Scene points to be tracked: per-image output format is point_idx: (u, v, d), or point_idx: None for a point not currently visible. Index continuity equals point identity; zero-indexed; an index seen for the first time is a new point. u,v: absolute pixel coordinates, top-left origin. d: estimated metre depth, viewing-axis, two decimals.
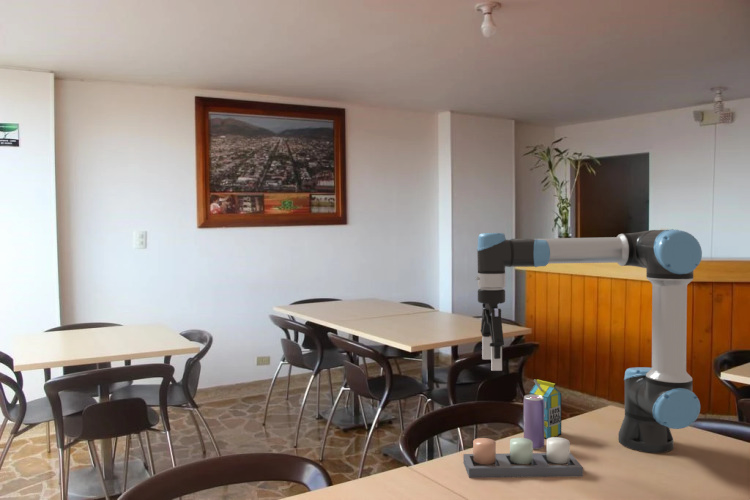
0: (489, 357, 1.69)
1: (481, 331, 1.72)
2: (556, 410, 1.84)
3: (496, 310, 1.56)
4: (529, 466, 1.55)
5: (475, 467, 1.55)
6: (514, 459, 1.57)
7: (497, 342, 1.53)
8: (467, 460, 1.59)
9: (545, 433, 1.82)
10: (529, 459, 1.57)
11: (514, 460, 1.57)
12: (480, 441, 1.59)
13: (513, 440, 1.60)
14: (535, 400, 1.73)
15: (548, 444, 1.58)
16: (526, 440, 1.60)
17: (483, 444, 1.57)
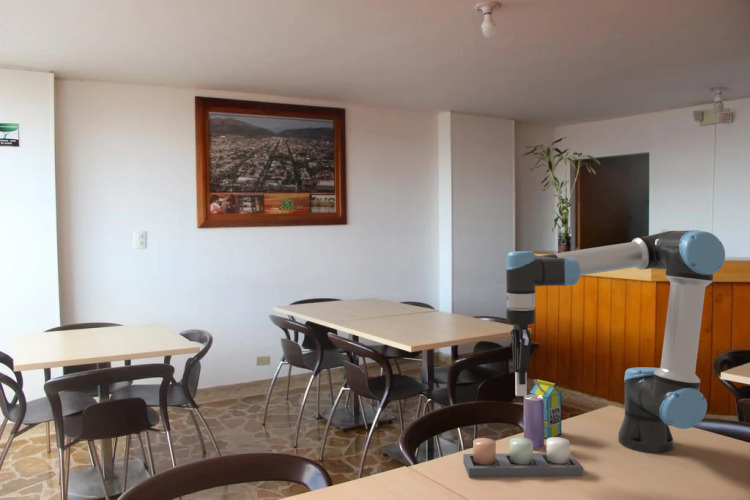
0: None
1: (514, 363, 1.61)
2: (556, 410, 1.84)
3: (526, 341, 1.52)
4: (529, 466, 1.55)
5: (475, 467, 1.55)
6: (514, 459, 1.57)
7: (522, 368, 1.55)
8: (467, 460, 1.59)
9: (545, 433, 1.82)
10: (529, 459, 1.57)
11: (514, 460, 1.57)
12: (480, 441, 1.59)
13: (513, 440, 1.60)
14: (535, 400, 1.73)
15: (548, 444, 1.58)
16: (526, 440, 1.60)
17: (483, 444, 1.57)
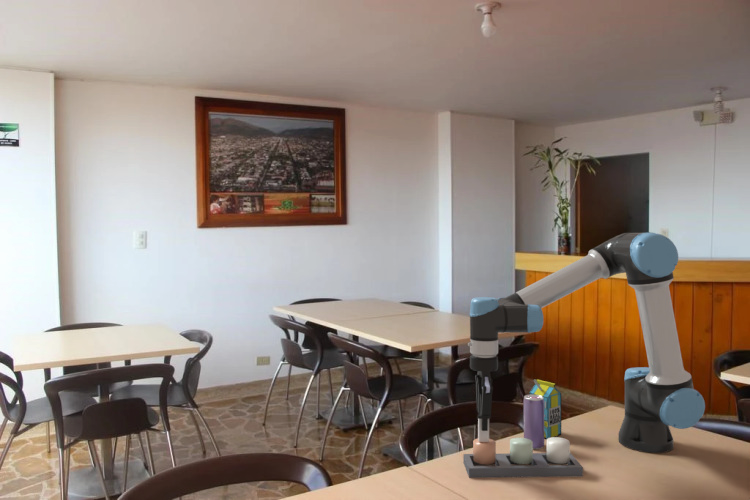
0: None
1: (477, 408, 1.61)
2: (556, 410, 1.84)
3: (488, 389, 1.52)
4: (529, 466, 1.55)
5: (475, 467, 1.55)
6: (514, 459, 1.57)
7: (484, 415, 1.55)
8: (467, 460, 1.59)
9: (545, 433, 1.82)
10: (529, 459, 1.57)
11: (514, 460, 1.57)
12: None
13: (513, 440, 1.60)
14: (535, 400, 1.73)
15: (548, 444, 1.58)
16: (526, 440, 1.60)
17: (483, 444, 1.57)
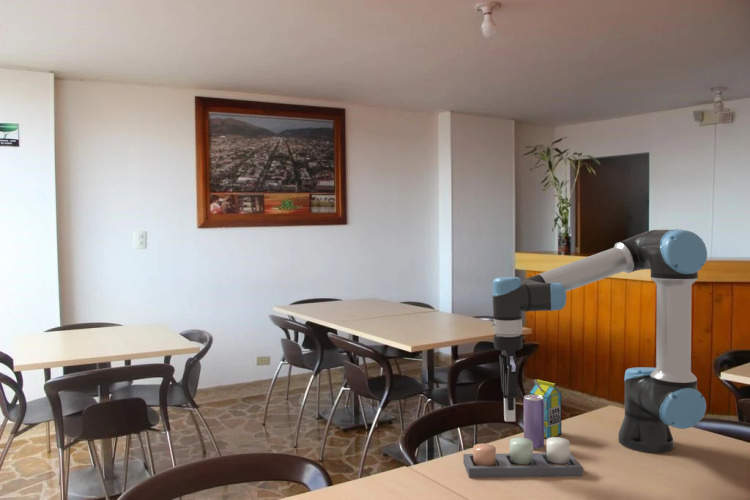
0: None
1: (502, 388, 1.61)
2: (556, 410, 1.84)
3: (513, 367, 1.52)
4: (529, 466, 1.55)
5: (475, 467, 1.55)
6: (514, 459, 1.57)
7: (510, 394, 1.55)
8: (467, 460, 1.59)
9: (545, 433, 1.82)
10: (529, 459, 1.57)
11: (514, 460, 1.57)
12: (480, 447, 1.59)
13: (513, 440, 1.60)
14: (535, 400, 1.73)
15: (548, 444, 1.58)
16: (526, 440, 1.60)
17: (483, 449, 1.57)
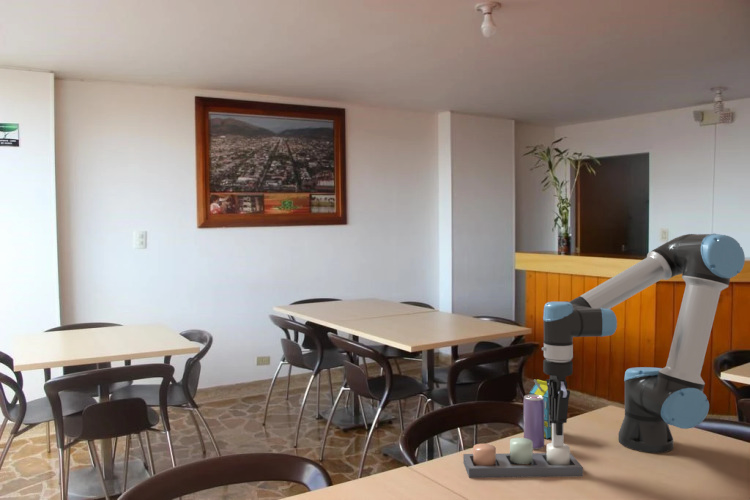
0: None
1: (550, 413, 1.61)
2: None
3: (565, 393, 1.52)
4: (529, 466, 1.55)
5: (475, 467, 1.55)
6: (514, 459, 1.57)
7: (560, 420, 1.55)
8: (467, 460, 1.59)
9: (545, 433, 1.82)
10: (529, 459, 1.57)
11: (514, 460, 1.57)
12: (480, 447, 1.59)
13: (513, 440, 1.60)
14: (535, 400, 1.73)
15: (548, 449, 1.58)
16: (526, 440, 1.60)
17: (483, 449, 1.57)
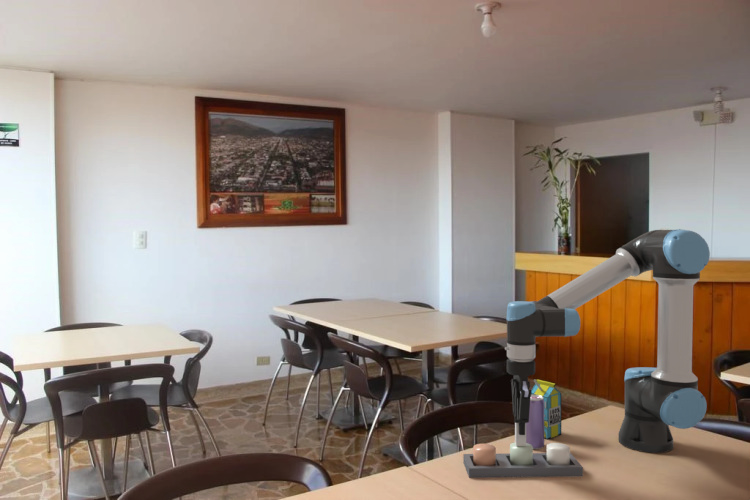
0: None
1: (513, 412, 1.61)
2: (556, 410, 1.84)
3: (526, 393, 1.52)
4: (529, 466, 1.55)
5: (475, 467, 1.55)
6: (514, 464, 1.57)
7: (522, 419, 1.55)
8: (467, 460, 1.59)
9: (545, 433, 1.82)
10: (529, 464, 1.57)
11: (514, 465, 1.57)
12: (480, 447, 1.59)
13: (513, 445, 1.60)
14: (535, 400, 1.73)
15: (548, 450, 1.58)
16: (526, 445, 1.60)
17: (483, 449, 1.57)
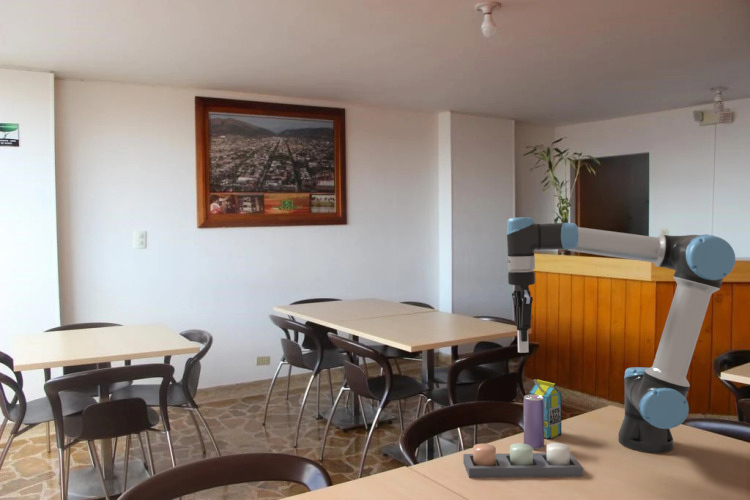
0: None
1: (515, 323, 1.72)
2: (556, 410, 1.84)
3: (528, 299, 1.63)
4: (529, 466, 1.55)
5: (475, 467, 1.55)
6: (514, 465, 1.57)
7: (524, 326, 1.66)
8: (467, 460, 1.59)
9: (545, 433, 1.82)
10: None
11: None
12: (480, 447, 1.59)
13: (513, 446, 1.60)
14: (535, 400, 1.73)
15: (548, 450, 1.58)
16: (526, 446, 1.60)
17: (483, 449, 1.57)
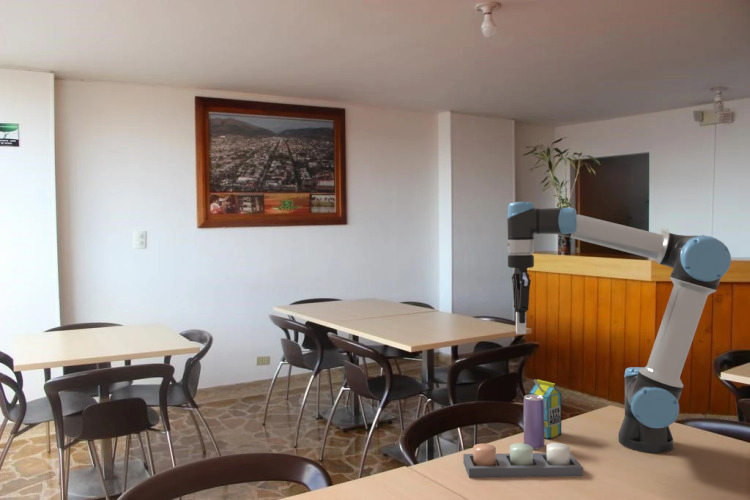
0: None
1: (514, 305, 1.76)
2: (556, 410, 1.84)
3: (526, 282, 1.67)
4: (529, 466, 1.55)
5: (475, 467, 1.55)
6: (514, 465, 1.57)
7: (522, 307, 1.70)
8: (467, 460, 1.59)
9: (545, 433, 1.82)
10: None
11: None
12: (480, 447, 1.59)
13: (513, 446, 1.60)
14: (535, 400, 1.73)
15: (548, 450, 1.58)
16: (526, 446, 1.60)
17: (483, 449, 1.57)
